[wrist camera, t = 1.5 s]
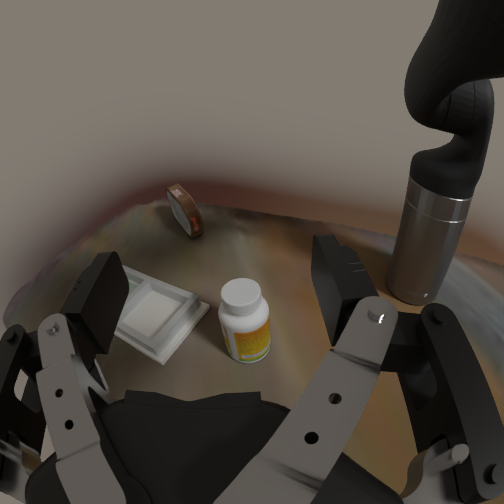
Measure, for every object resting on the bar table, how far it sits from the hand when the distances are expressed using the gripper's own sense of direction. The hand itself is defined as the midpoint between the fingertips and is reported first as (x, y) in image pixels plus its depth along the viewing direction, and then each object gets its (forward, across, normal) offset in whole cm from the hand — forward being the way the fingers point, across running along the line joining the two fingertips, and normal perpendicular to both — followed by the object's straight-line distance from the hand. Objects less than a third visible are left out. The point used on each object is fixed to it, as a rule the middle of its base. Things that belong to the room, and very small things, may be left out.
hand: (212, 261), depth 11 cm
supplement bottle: (+12, 0, +22) cm, 25 cm away
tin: (+42, +12, +22) cm, 48 cm away
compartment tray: (+19, +17, +22) cm, 34 cm away
